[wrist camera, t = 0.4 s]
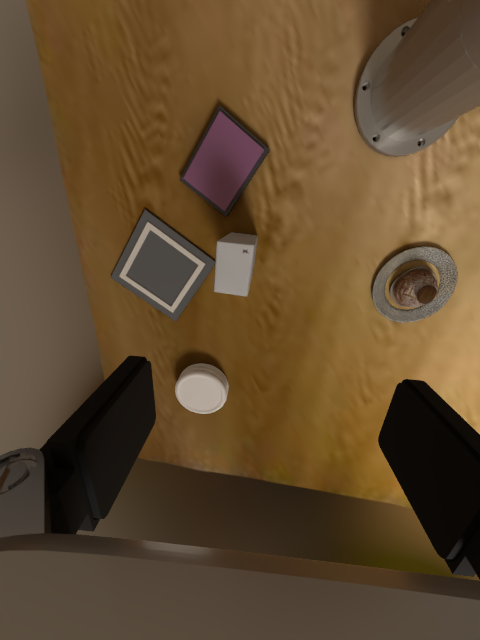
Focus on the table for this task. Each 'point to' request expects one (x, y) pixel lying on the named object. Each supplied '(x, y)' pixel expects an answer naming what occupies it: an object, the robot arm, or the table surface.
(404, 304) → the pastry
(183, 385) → the white round disc
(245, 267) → the skincare box
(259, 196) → the table surface
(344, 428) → the table surface
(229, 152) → the ink pad
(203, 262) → the mat
